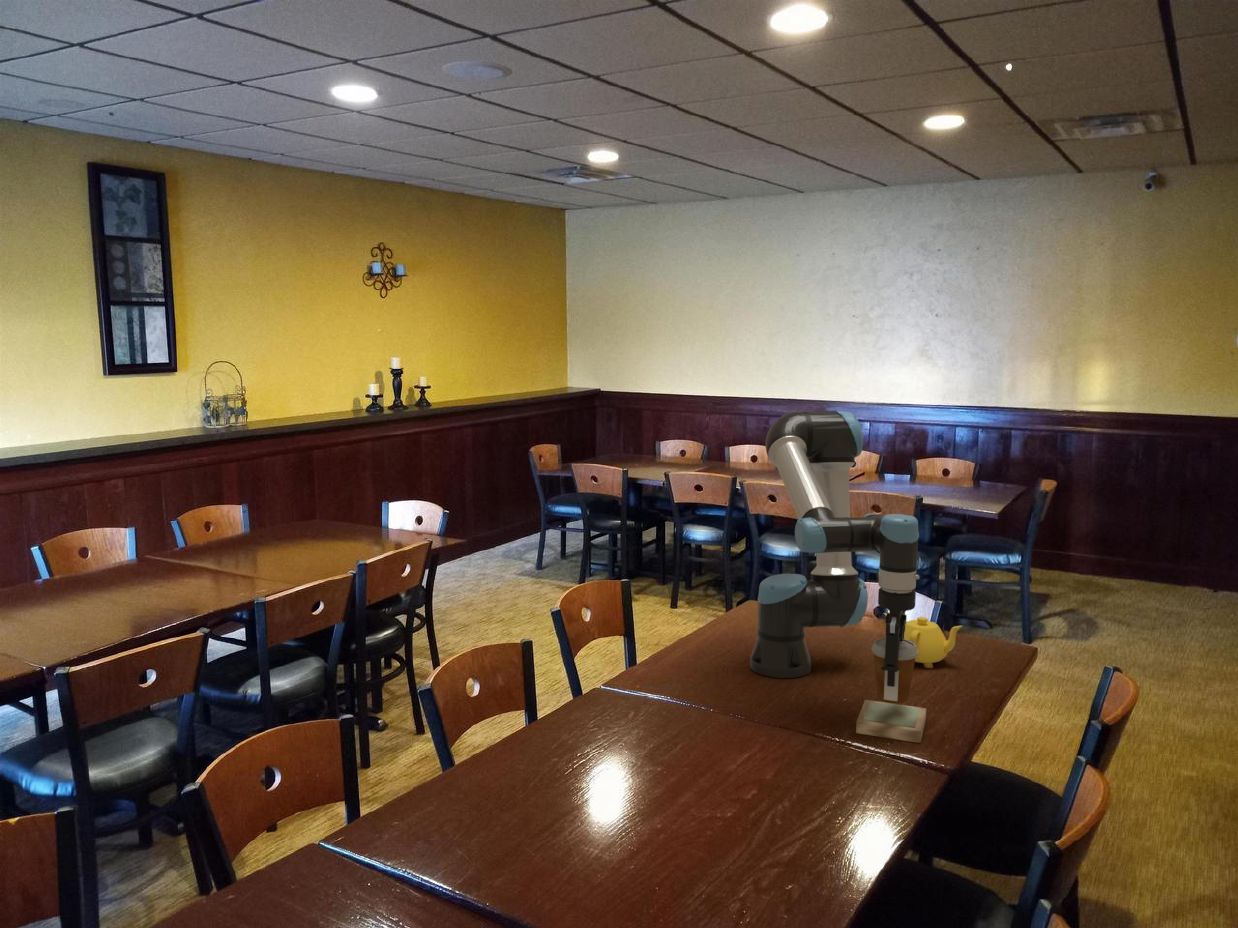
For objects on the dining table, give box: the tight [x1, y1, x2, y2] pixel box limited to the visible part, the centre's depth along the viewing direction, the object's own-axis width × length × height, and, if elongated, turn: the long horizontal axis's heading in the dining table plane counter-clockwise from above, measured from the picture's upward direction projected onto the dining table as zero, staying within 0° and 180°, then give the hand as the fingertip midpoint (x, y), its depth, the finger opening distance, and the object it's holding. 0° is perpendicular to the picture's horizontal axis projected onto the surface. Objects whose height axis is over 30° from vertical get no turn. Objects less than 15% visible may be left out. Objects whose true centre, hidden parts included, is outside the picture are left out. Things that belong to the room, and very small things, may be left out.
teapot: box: [883, 612, 963, 669], centre depth 239 cm, size 20×15×12 cm
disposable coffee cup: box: [870, 637, 918, 704], centre depth 199 cm, size 10×10×12 cm
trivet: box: [855, 699, 927, 744], centre depth 200 cm, size 13×13×3 cm
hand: (893, 692), depth 199 cm, fingers closed on disposable coffee cup, 8 cm apart
